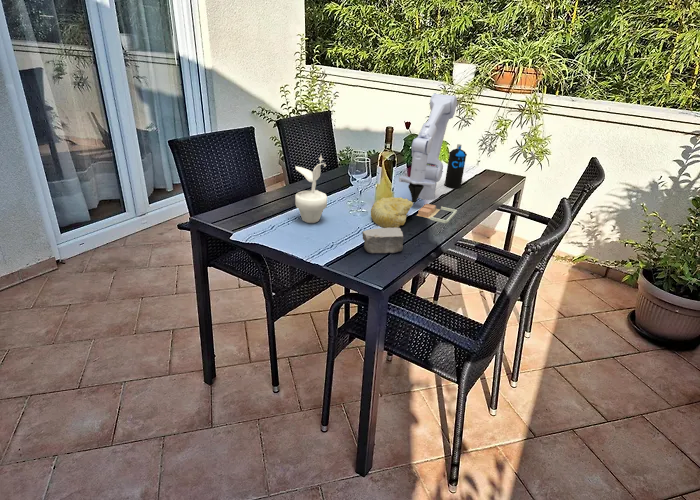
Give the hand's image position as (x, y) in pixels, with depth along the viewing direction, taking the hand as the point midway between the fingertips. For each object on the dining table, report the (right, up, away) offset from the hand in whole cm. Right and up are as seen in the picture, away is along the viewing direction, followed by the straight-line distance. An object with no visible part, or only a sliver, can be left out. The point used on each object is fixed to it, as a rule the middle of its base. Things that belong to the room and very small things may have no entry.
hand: (414, 201), depth 183 cm
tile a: (+6, -4, -1) cm, 7 cm away
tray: (+11, -7, -5) cm, 14 cm away
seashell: (-10, -10, -12) cm, 18 cm away
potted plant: (-41, -8, -13) cm, 44 cm away
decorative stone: (-15, -20, -32) cm, 41 cm away
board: (+5, -6, -3) cm, 8 cm away
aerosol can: (+23, +11, +35) cm, 43 cm away
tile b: (+3, -6, -6) cm, 9 cm away
